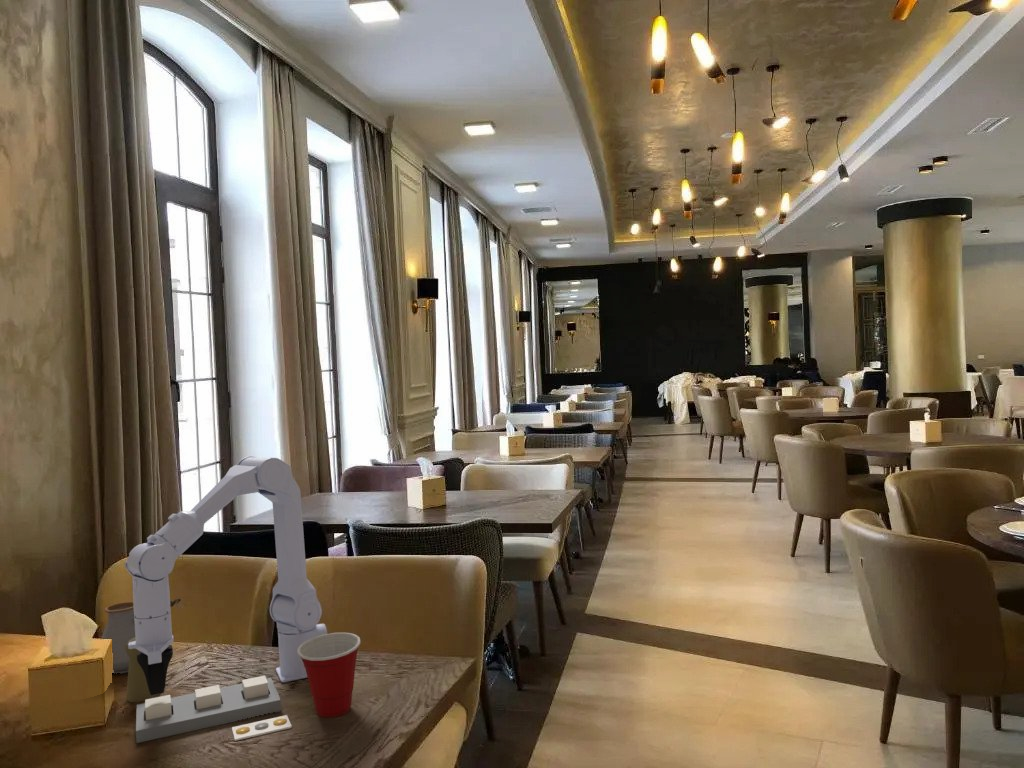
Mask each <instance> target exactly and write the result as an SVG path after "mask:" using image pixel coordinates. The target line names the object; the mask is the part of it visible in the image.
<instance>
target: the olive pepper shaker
mask: <svg viewBox="0 0 1024 768" xmlns="http://www.w3.org/2000/svg"><path fill="white" fill-rule="evenodd" d="M133 641H136V637H135V638H132V639H131V640H129V641H128V642H127V644H126V653H127V655H128V656H129V670H128V672H127V684H126V685H127V686H126V697H125V698H126V701H127V702H130V703H139V702H140V703H141V702H145V700H146V699H151V698H156V697H159V696H160V695H161V694H162V693H160V694H155V695H151V694H150V692H149V689H148V685H147V681H146V677H145V674H144V672H143V670H142V668H141V666H140V665H139V664H138V662H137V653H138V652H140V651H139V650H137V649H135V648H134V649H129V648H128V643H129V642H133Z"/></svg>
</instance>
